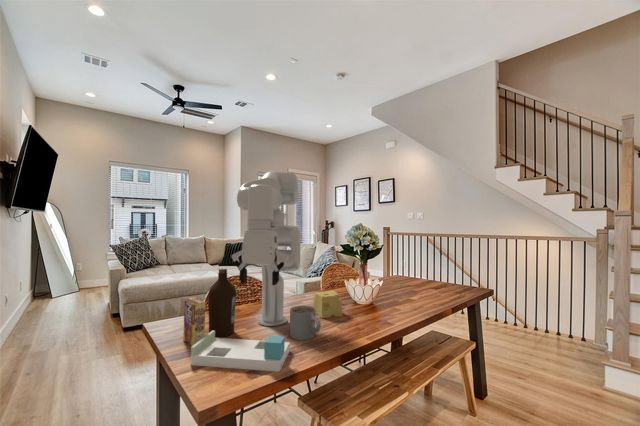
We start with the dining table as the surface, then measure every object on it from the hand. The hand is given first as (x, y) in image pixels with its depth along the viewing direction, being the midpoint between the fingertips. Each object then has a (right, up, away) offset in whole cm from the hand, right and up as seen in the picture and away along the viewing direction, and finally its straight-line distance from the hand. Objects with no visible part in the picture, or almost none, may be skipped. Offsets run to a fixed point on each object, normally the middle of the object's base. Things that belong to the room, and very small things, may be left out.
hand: (259, 283), depth 89 cm
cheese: (+22, -28, +54) cm, 65 cm away
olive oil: (-21, -27, +29) cm, 44 cm away
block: (+4, -23, +3) cm, 24 cm away
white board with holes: (-7, -26, +8) cm, 28 cm away
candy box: (-28, -26, +20) cm, 43 cm away
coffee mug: (+12, -27, +27) cm, 40 cm away
